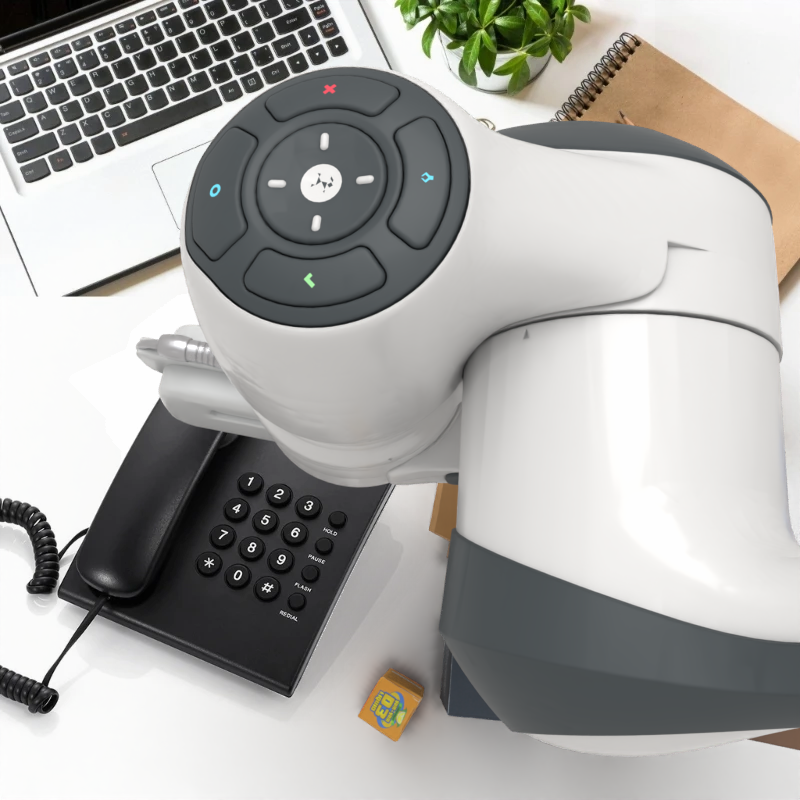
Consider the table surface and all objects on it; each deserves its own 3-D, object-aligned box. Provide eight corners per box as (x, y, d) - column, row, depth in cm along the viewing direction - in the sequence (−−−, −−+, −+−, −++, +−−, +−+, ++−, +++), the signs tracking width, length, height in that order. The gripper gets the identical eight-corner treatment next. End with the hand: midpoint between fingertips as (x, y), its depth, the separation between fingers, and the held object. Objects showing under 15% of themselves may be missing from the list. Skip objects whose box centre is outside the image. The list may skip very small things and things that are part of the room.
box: (439, 700, 62) (445, 716, 51) (445, 624, 63) (452, 625, 53) (541, 710, 61) (568, 729, 51) (545, 634, 63) (571, 637, 53)
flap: (457, 543, 53) (451, 542, 53) (477, 428, 55) (472, 428, 55) (434, 531, 48) (428, 530, 49) (457, 407, 50) (451, 406, 51)
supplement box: (387, 663, 62) (383, 671, 53) (425, 687, 62) (428, 700, 52) (364, 702, 62) (356, 717, 52) (403, 727, 61) (402, 747, 52)
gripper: (101, 403, 34) (187, 464, 47) (585, 497, 33) (532, 532, 46) (142, 267, 35) (214, 363, 49) (605, 352, 34) (548, 427, 48)
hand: (371, 446), depth 47 cm, fingers closed
